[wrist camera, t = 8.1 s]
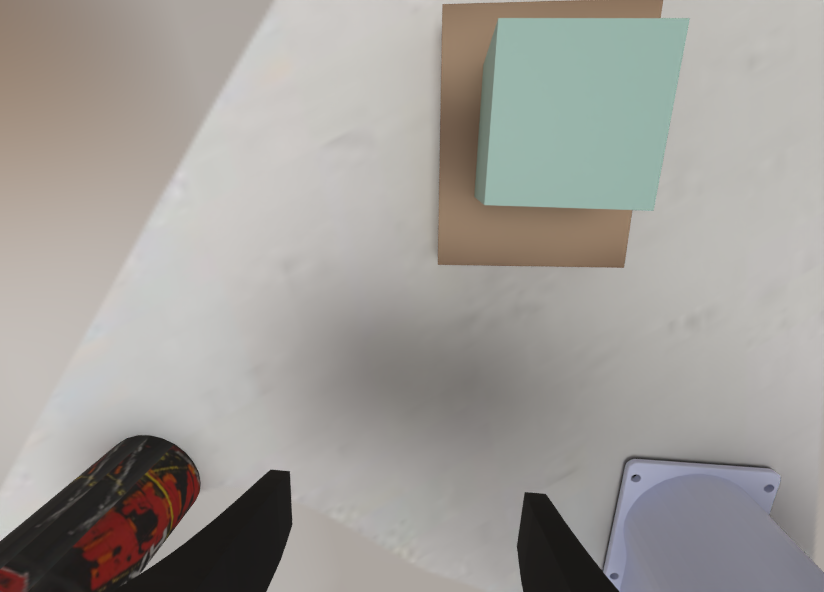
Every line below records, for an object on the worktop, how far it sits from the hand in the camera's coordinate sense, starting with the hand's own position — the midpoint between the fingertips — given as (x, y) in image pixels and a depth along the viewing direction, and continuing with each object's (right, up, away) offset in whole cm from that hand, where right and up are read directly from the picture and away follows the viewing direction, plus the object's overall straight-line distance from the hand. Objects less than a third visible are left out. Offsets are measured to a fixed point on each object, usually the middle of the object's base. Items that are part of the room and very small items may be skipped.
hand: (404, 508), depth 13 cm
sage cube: (+5, +13, +4) cm, 15 cm away
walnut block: (+6, +13, +7) cm, 16 cm away
